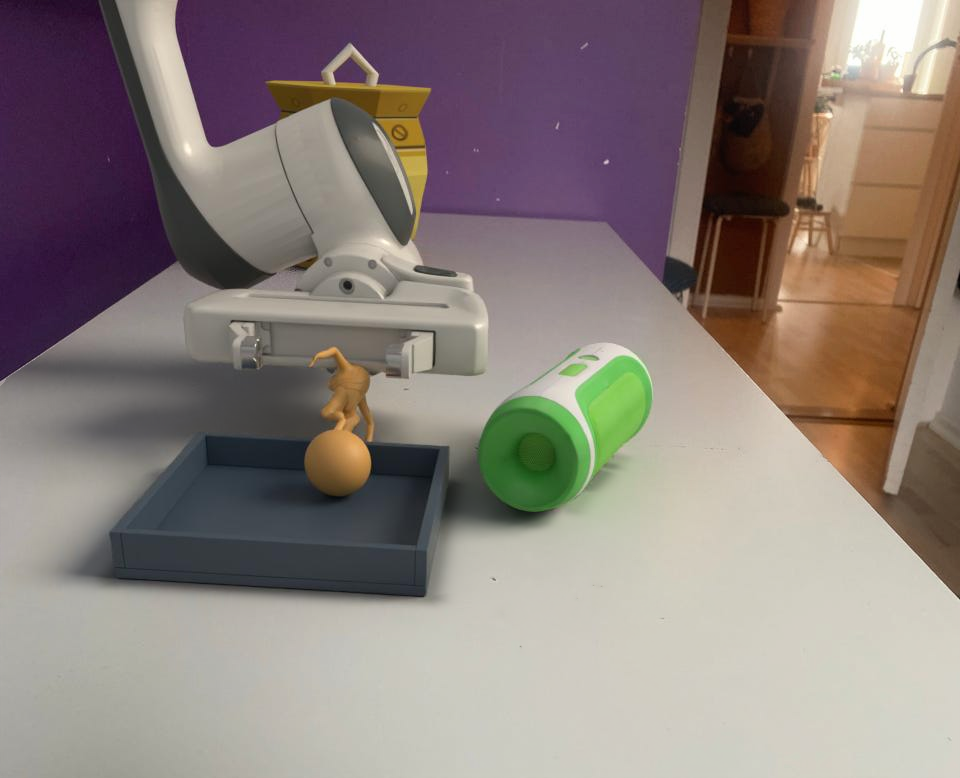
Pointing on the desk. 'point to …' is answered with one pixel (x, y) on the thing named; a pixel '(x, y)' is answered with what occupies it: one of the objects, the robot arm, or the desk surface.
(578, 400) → the speaker
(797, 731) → the desk surface
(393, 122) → the container
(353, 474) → the figurine
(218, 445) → the tray
